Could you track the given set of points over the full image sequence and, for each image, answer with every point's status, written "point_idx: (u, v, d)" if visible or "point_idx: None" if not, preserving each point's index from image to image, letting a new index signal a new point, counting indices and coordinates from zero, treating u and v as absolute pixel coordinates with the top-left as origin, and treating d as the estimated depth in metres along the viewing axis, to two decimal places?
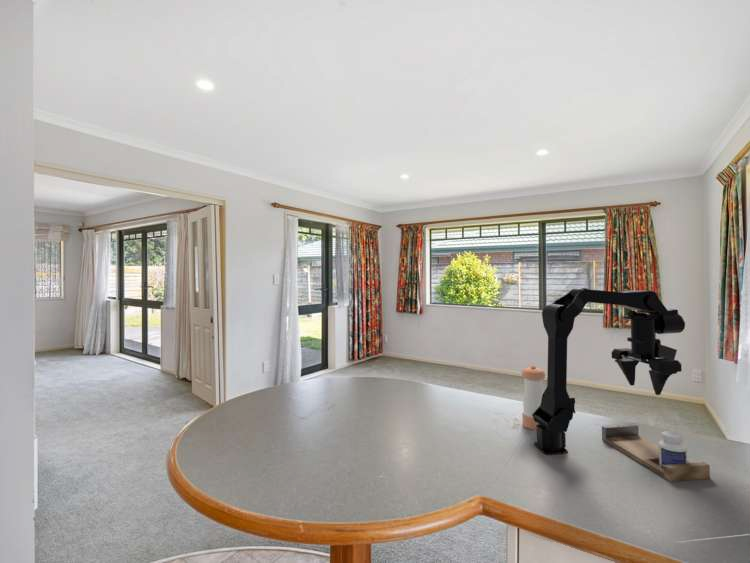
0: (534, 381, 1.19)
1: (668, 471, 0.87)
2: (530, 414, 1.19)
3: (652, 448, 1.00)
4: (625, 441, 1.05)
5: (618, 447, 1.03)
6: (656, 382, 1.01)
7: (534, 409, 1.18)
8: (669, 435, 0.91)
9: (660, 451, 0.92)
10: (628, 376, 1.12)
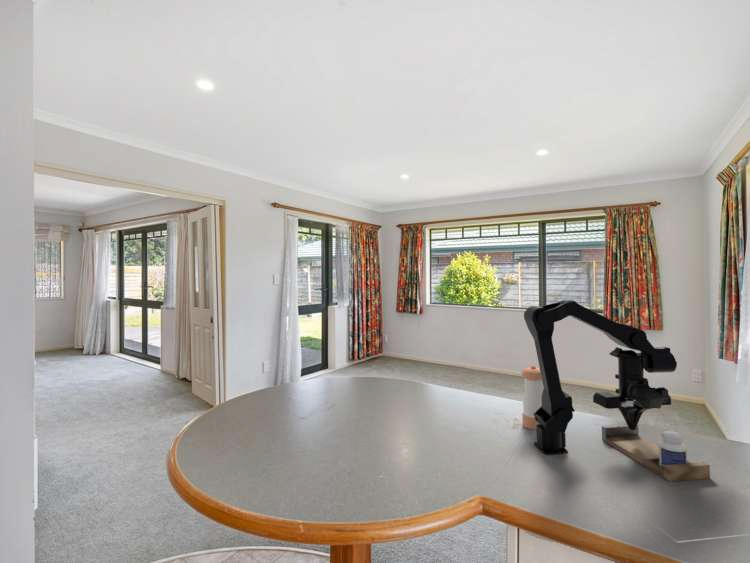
0: (534, 381, 1.19)
1: (668, 471, 0.87)
2: (530, 414, 1.19)
3: (652, 448, 1.00)
4: (625, 441, 1.05)
5: (618, 447, 1.03)
6: (623, 414, 1.05)
7: (534, 409, 1.18)
8: (669, 435, 0.91)
9: (660, 451, 0.92)
10: None
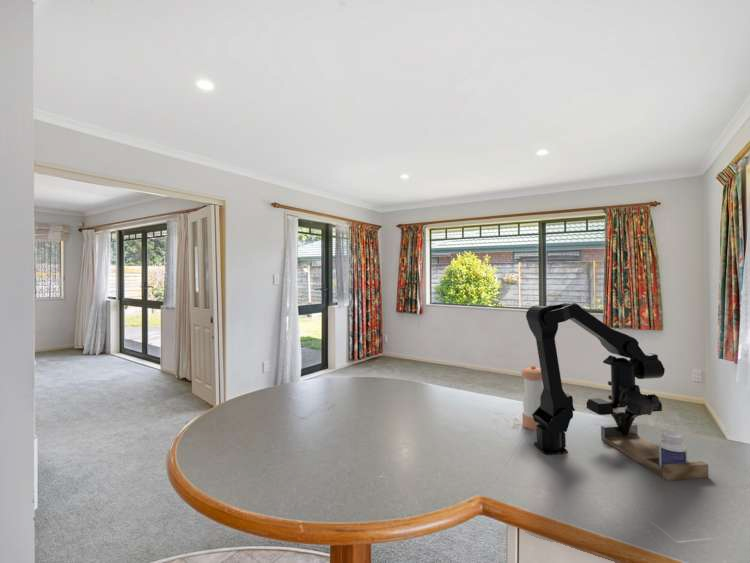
0: (534, 381, 1.19)
1: (667, 470, 0.87)
2: (530, 414, 1.19)
3: (651, 447, 1.01)
4: (624, 440, 1.05)
5: (617, 446, 1.03)
6: (615, 420, 1.08)
7: (534, 409, 1.18)
8: (669, 435, 0.91)
9: (660, 451, 0.92)
10: None
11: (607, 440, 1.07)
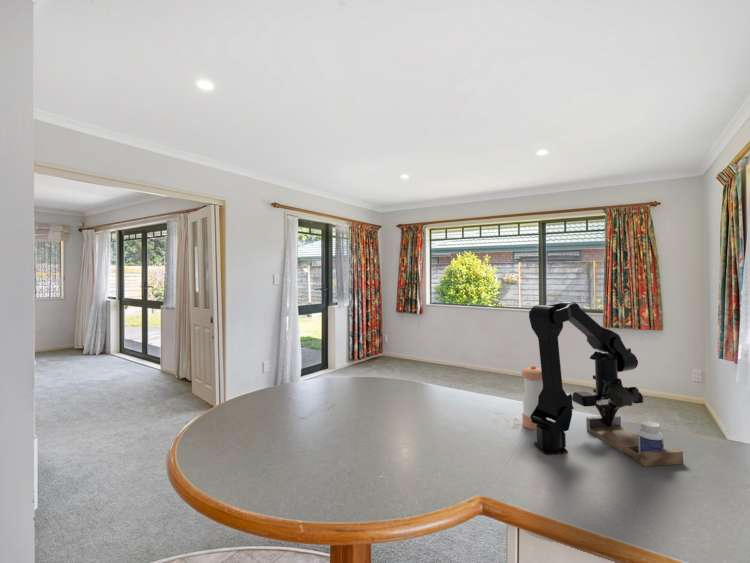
0: (534, 381, 1.19)
1: (644, 457, 0.94)
2: (530, 414, 1.19)
3: (632, 437, 1.07)
4: (608, 431, 1.12)
5: (601, 436, 1.09)
6: (599, 412, 1.15)
7: (534, 409, 1.18)
8: (647, 424, 0.97)
9: (639, 439, 0.99)
10: None
11: (592, 431, 1.13)
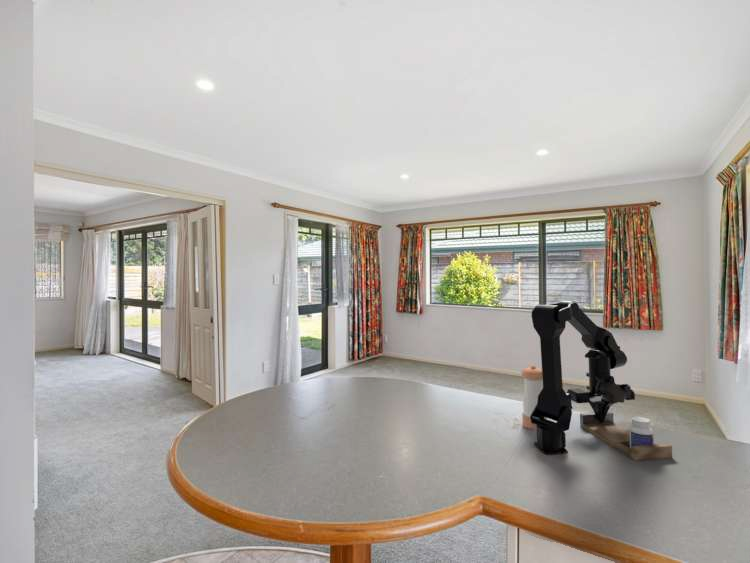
0: (534, 381, 1.19)
1: (634, 451, 0.97)
2: (530, 414, 1.19)
3: (624, 433, 1.10)
4: (600, 427, 1.15)
5: (594, 432, 1.13)
6: (593, 408, 1.18)
7: None
8: (638, 420, 1.01)
9: (630, 434, 1.02)
10: None
11: (585, 427, 1.16)
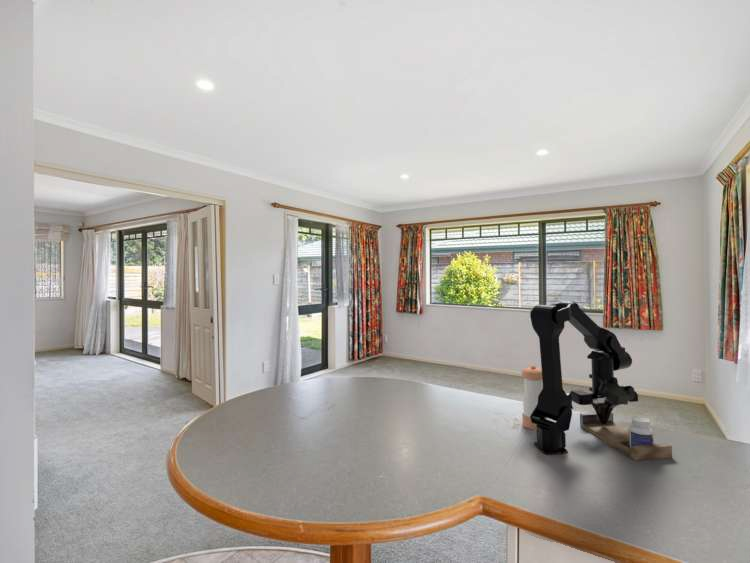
0: (534, 381, 1.19)
1: (634, 451, 0.97)
2: (530, 414, 1.19)
3: (624, 433, 1.10)
4: (600, 427, 1.15)
5: (593, 432, 1.13)
6: (595, 410, 1.17)
7: None
8: (638, 420, 1.01)
9: (630, 434, 1.02)
10: None
11: (585, 427, 1.17)
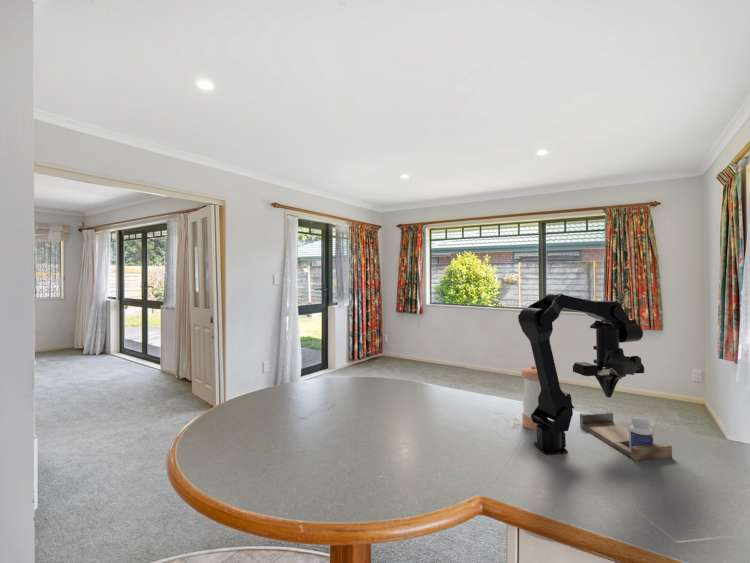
0: (534, 381, 1.19)
1: (634, 451, 0.97)
2: (530, 414, 1.19)
3: (624, 433, 1.10)
4: (600, 427, 1.15)
5: (593, 432, 1.13)
6: (600, 383, 1.12)
7: (534, 409, 1.18)
8: (638, 420, 1.01)
9: (630, 434, 1.02)
10: None
11: (585, 427, 1.17)
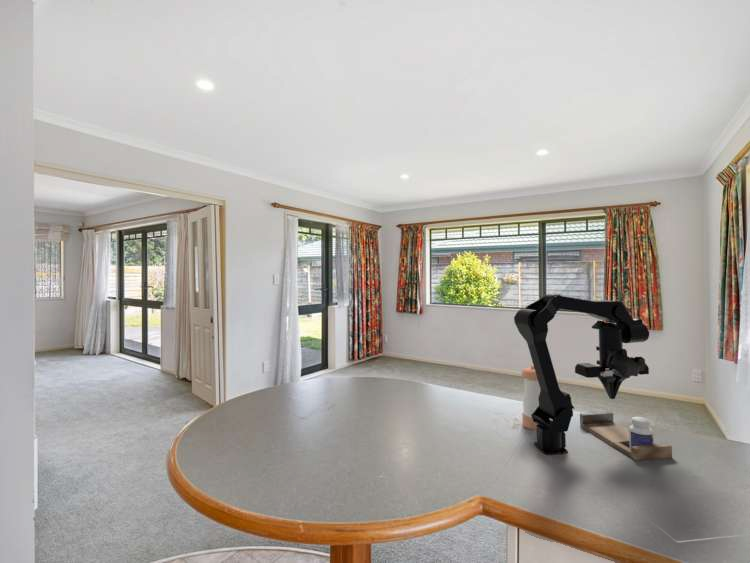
0: (534, 381, 1.19)
1: (634, 451, 0.97)
2: (530, 414, 1.19)
3: (624, 433, 1.10)
4: (600, 427, 1.15)
5: (593, 432, 1.13)
6: (603, 384, 1.10)
7: (534, 409, 1.18)
8: (638, 420, 1.01)
9: (630, 434, 1.02)
10: None
11: (585, 427, 1.17)
